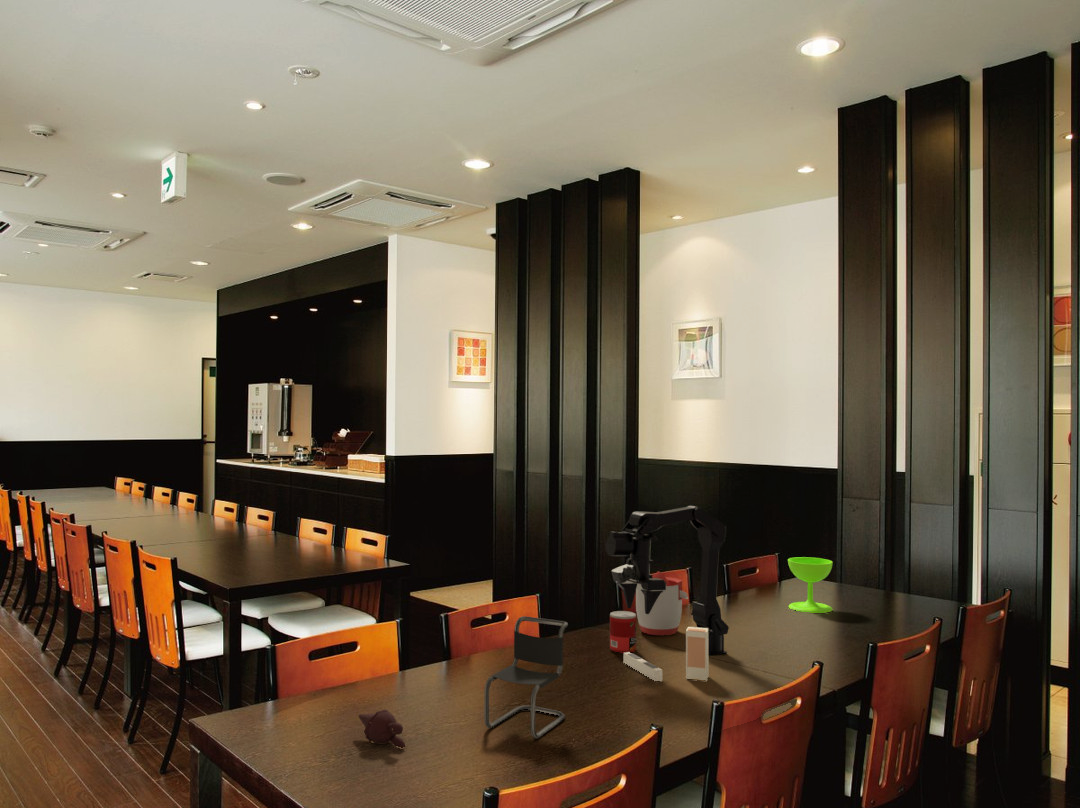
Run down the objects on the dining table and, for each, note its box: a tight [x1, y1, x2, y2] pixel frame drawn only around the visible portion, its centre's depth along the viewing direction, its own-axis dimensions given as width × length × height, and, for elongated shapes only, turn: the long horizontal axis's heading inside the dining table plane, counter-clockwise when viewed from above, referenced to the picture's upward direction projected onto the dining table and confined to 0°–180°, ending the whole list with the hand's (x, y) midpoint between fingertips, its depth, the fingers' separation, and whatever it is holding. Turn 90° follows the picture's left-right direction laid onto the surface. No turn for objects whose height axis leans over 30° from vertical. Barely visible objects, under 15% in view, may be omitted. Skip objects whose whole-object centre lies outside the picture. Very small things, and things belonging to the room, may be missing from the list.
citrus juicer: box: [635, 570, 689, 636], centre depth 261 cm, size 16×17×20 cm
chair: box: [483, 615, 569, 739], centre depth 180 cm, size 13×17×22 cm
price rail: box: [622, 652, 663, 682], centre depth 218 cm, size 2×18×3 cm, turn 22°
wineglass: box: [787, 556, 834, 613], centre depth 296 cm, size 16×16×18 cm
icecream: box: [358, 709, 406, 748], centre depth 169 cm, size 7×7×15 cm
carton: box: [685, 626, 709, 682], centre depth 213 cm, size 5×6×13 cm
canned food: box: [609, 610, 637, 654], centre depth 239 cm, size 8×8×11 cm
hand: (638, 610), depth 226 cm, fingers open, 9 cm apart
